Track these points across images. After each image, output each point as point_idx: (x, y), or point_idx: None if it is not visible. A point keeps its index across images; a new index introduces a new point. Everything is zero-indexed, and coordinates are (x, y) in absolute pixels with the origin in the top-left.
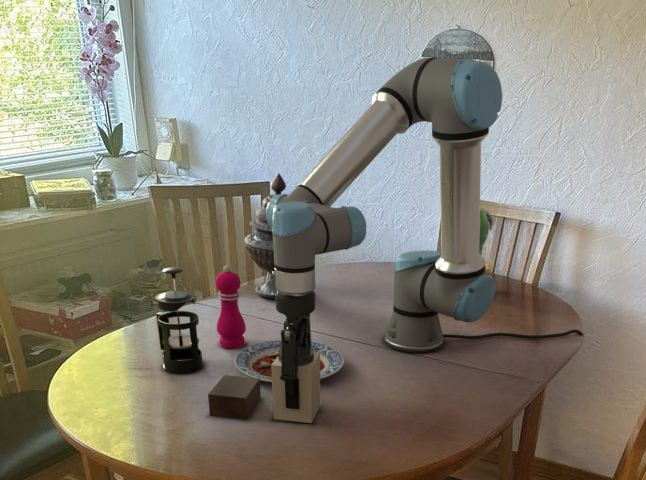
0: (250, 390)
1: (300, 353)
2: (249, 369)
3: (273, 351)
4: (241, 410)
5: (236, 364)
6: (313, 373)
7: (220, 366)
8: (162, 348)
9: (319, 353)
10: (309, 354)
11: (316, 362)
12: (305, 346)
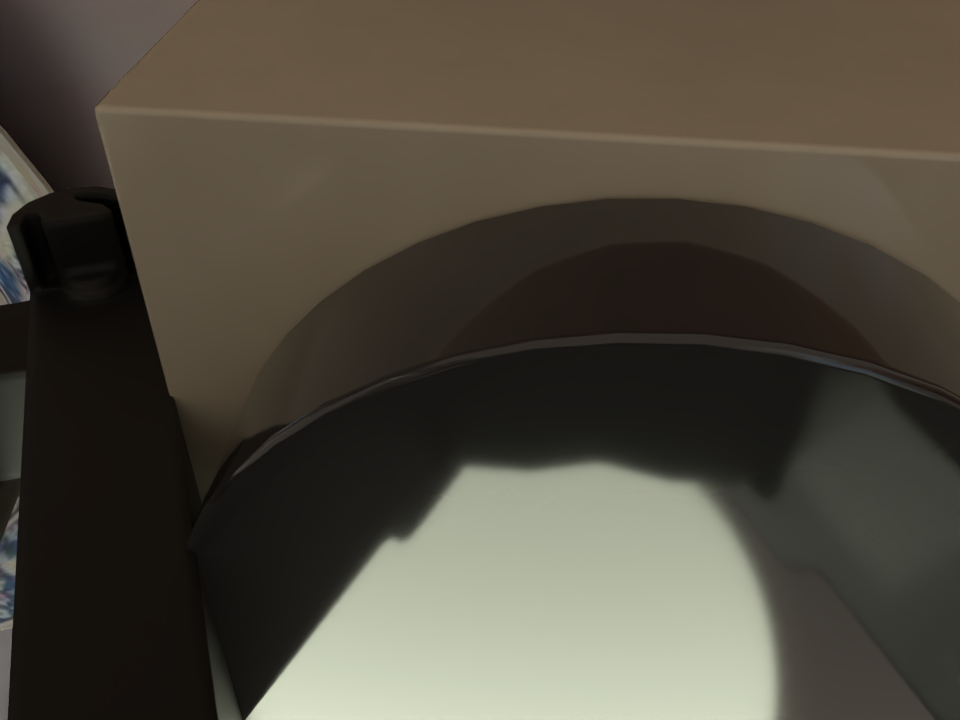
0: None
1: (750, 616)
2: (16, 550)
3: None
4: None
5: (8, 625)
6: (895, 48)
7: (2, 646)
8: None
9: (105, 119)
10: (830, 432)
11: (572, 92)
12: (222, 566)
